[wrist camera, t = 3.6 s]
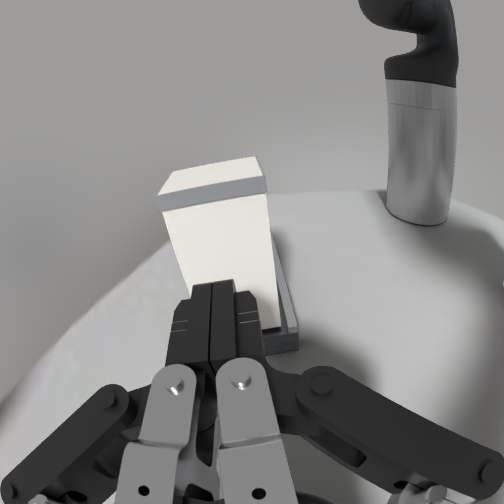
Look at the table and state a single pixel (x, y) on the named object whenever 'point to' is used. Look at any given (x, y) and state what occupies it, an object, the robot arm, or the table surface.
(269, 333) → the fader console
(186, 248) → the fader knob
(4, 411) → the table surface
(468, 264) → the table surface
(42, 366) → the table surface
